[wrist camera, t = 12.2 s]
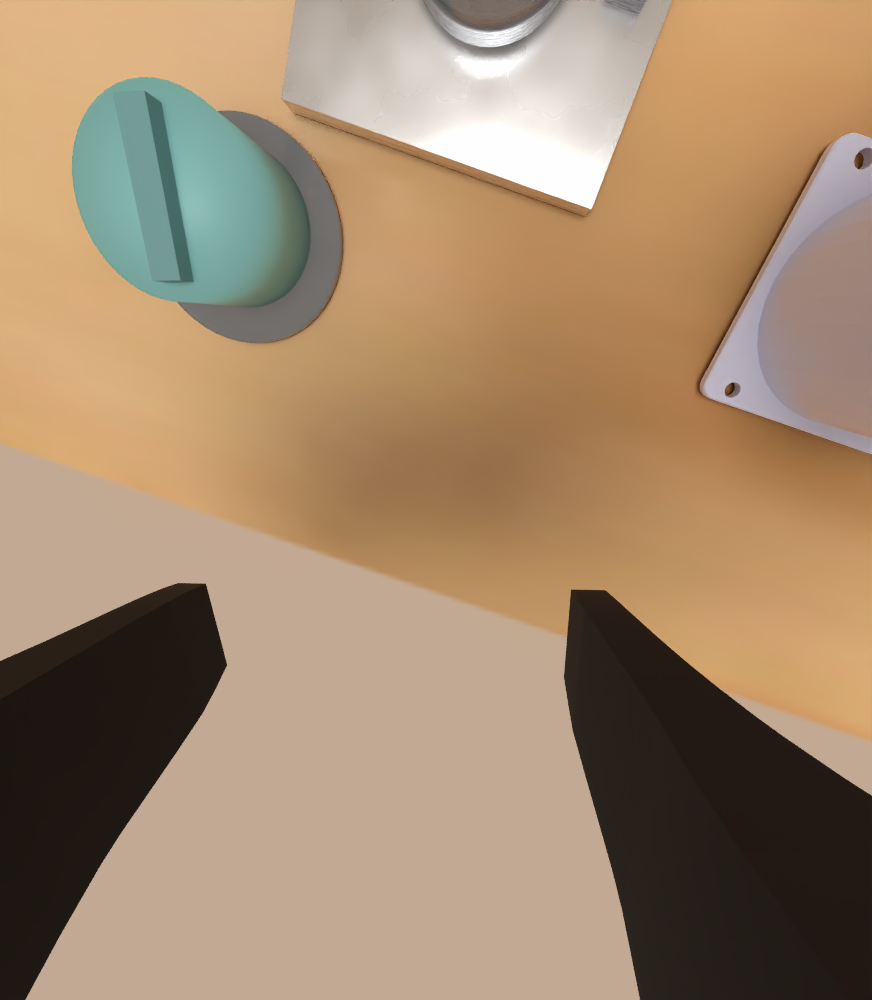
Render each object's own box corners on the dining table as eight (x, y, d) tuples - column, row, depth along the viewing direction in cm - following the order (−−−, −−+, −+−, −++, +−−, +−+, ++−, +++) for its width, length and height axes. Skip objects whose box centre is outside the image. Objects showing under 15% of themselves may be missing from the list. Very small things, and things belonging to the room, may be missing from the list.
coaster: (363, 157, 15) (360, 152, 14) (320, 367, 17) (316, 368, 17) (158, 84, 15) (150, 77, 14) (145, 307, 17) (138, 307, 17)
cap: (317, 306, 16) (259, 300, 12) (186, 307, 17) (84, 301, 12) (302, 137, 14) (226, 58, 10) (155, 142, 15) (23, 69, 11)
